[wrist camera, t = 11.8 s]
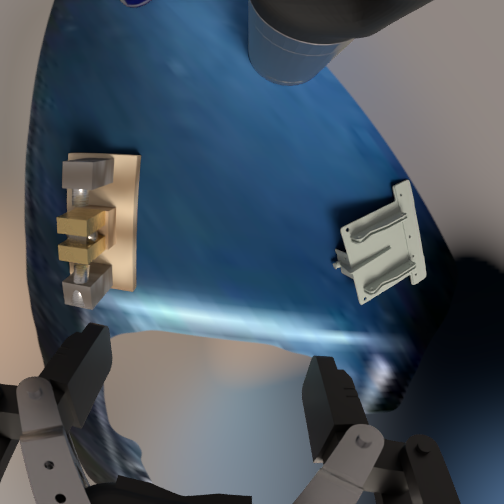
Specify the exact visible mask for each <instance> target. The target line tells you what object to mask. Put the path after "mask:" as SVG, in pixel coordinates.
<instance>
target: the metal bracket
mask: <svg viewBox="0 0 504 504" xmlns="http://www.w3.org/2000/svg"><path fill="white" fill-rule="evenodd" d="M393 193H394V197H395V201H394V202H392V203H390V204H388V205H386V206H384V207H382V208H380V209H378V210H376V211H374V212H372V213H370V214H368V215H366V216H364V217H362V218H360V219H358V220H355V221H353V222H351V223H349V224H347V225H345V226H343V227H342V228H341V229H340V231H341V235H342V238H343V242H344V246H345V249H346V253H345V252H343V251H340V250H338V249H335V251H336V253H337V258H338V261H337V262H335V263H333V266H334V268H335V269H337V268H339V267H341V272H342V273H343V274H345V275H347V276H348V277H350V278H352V279H354V283H355V287H356V291H357V295H358V299H359V303H360V304H361V305H362V304H364V303H366V302H367V301H369V300H371V299H372V298H374V297H375V296H377V295H379V294H380V293H382V292H383V291H385V290H387V289H388V288H390V287H391V286H393V285H394V284H396V283H398V282H399V281H401V280H402V279H404V278H405V277H407V276H408V275H410V278H411V284H412V285H415V284H417V283H418V282H420V281H421V280H422V279H424V278H425V277H426V269H425V261H424V256H423V251H422V245H421V239H420V233H419V227H418V222H417V217H416V212H415V207H414V199H413V195H412V190H411V186H410V182H409V180H404V181H402V182H400V183H398V184H396V185H394V186H393ZM400 194H401V196H400ZM346 228H348V229H349V230H348V232H346ZM409 235H410V237H409ZM412 256H413V257H412ZM415 274H416V275H415ZM364 297H366V299H365V300H364Z"/></svg>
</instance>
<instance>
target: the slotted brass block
mask: <svg viewBox="0 0 504 504" xmlns="http://www.w3.org/2000/svg"><path fill="white" fill-rule="evenodd" d="M104 225H105V210H97V209H87V208H76V209H74V210H71V211H69V212H67V213H65V214H63V215H61V216H59V217H57V233H60V234H67V237H68V238H69V239H67V240H65V241H64V242H62V243H61V244H59V245H58V250H59V260H62V261H68V262H74V263H80V264H86V265H88V264H90V263H91V262H92V261H93V260H94V259H95V258H97V257H98V256H99V255H100V254H101V253H102V252H104V251H105V236H101V235H98V232H97V230H98V229H100V228H101V227H103V226H104Z"/></svg>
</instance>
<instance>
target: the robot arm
mask: <svg viewBox="0 0 504 504" xmlns="http://www.w3.org/2000/svg"><path fill="white" fill-rule="evenodd" d="M431 1H433V0H248V53H249V58H250V61H251V64H252V65H253V67H254V69H255V70H256V71H257V72H258V73H259V74H260V75H261V76H262V77H264V78H265V79H266V80H268V81H270V82H273V83H275V84H279V85H287V86H292V85H299V84H302V83H305V82H307V81H309V80H310V79H312V78H313V77H314V76H315V75H316V74H317V73H318V72H320V71H321V70H322V69H323V68H324V67H325V66H326V65H327V64H328V63H329V62H330V61H331V60H333V59H334V58H335V57H336V56H337V55H338V54H339V53H340V52H341V51H342V50H343V49H344V48H346V47H347V46H348V45H349V44H350V43H351V42H352V41H353V40H354V39H355V38H363V37H367V36H370V35H372V34H375V33H377V32H378V31H380V30H381V29H383V28H385V27H386V26H388V25H390V24H391V23H393V22H395V21H397V20H398V19H400V18H402V17H404V16H406V15H407V14H409V13H411V12H413V11H415V10H417V9H419V8H420V7H422V6H424V5H426V4H427V3H429V2H431ZM111 365H112V351H111V342H110V333H109V328H108V326H104V325H100V324H95V323H89V324H88V325H87V326H86V328H85V329H84V330H83V332H82V333H80V332H76V333H74V334H72V335H71V336H69V337H68V338H67V339H66V340H65V341H64V342H63V344H62V345H61V348H59V349H58V350H57V352H56V354H54V356H53V357H52V358H51V360H50V361H49V362H48V364H47V365H46V367H45V368H44V370H43V371H42V372H41V374H40V375H39V376H38V377H29V378H26V379H24V380H23V381H22V382H20V383H19V385H18V386H15V385H5V384H0V482H1V479H2V477H3V475H4V472H5V470H6V468H7V466H8V463H9V461H10V459H11V457H12V455H13V452H14V450H15V448H16V446H17V444H18V442H19V440H20V444H21V449H22V453H23V457H24V462H25V466H26V470H27V474H28V478H29V481H30V485H31V488H32V492H33V495H34V498H35V501H36V504H252V496H241V495H227V494H209V495H196V496H181V495H178V494H175V493H172V492H170V491H168V490H165V489H163V488H160V487H158V486H156V485H154V484H152V483H149V482H144V481H140V480H136V479H132V478H128V477H124V476H120V475H118V478H117V481H116V483H113V482H112V483H100V484H96V485H92V486H90V485H89V483H88V480H87V478H86V476H85V474H84V472H83V469H82V467H81V464H80V462H79V459H78V457H77V454H76V451H75V448H74V446H73V443H72V440H71V437H70V434H69V430H70V428H71V426H75V427H78V428H81V429H82V426H83V424H84V422H85V420H86V418H87V416H88V414H89V412H90V410H91V408H92V406H93V404H94V401H95V399H96V397H97V395H98V393H99V391H100V389H101V387H102V385H103V383H104V381H105V379H106V377H107V375H108V374H109V372H110V369H111ZM302 400H303V406H304V412H305V417H306V423H307V428H308V433H309V439H310V445H311V451H312V457H313V462H314V463H323V464H324V465H323V467H322V468H320V470H319V471H318V472H317V474H316V475H315V476H314V478H313V479H312V480H311V481H310V483H309V484H308V485H307V486H306V488H305V489H304V490H303V492H302V493H301V494H300V495H299V497H298V498H297V499H296V500H295V501H294V503H293V504H356V502H357V500H358V499H359V497H360V495H361V494H362V492H363V491H369V492H374V495H375V500H376V504H460V501H459V498H458V495H457V493H456V490H455V487H454V485H453V482H452V479H451V477H450V474H449V471H448V469H447V466H446V464H445V461H444V459H443V456H442V454H441V452H440V449H439V447H438V445H437V443H436V442H435V441H434V440H433V439H432V438H430V437H428V436H425V435H414V436H412V437H410V438H409V439H408V440H407V441H406V443H403V442H396V441H391V440H386V439H384V438H383V436H382V434H381V433H380V432H379V431H378V430H377V429H376V428H374V427H372V426H370V425H369V424H368V421H367V418H366V416H365V413H364V410H363V407H362V404H361V402H360V399H359V398H358V394H357V391H356V390H355V386H354V383H353V380H352V378H351V377H350V376H349V375H348V374H347V373H346V372H345V371H344V370H337V367H336V364H335V361H334V358H333V357H327V356H313V357H312V360H311V362H310V365H309V368H308V372H307V375H306V378H305V380H304V383H303V388H302Z"/></svg>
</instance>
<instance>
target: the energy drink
mask: <svg viewBox="0 0 504 504" xmlns="http://www.w3.org/2000/svg"><path fill="white" fill-rule="evenodd" d="M120 1H121V2H122V3H123V4H124V5H126V6H128V7H133V8H134V7H140V6H143V5H145V4H147V3H149V2H150V1H152V0H120Z"/></svg>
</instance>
